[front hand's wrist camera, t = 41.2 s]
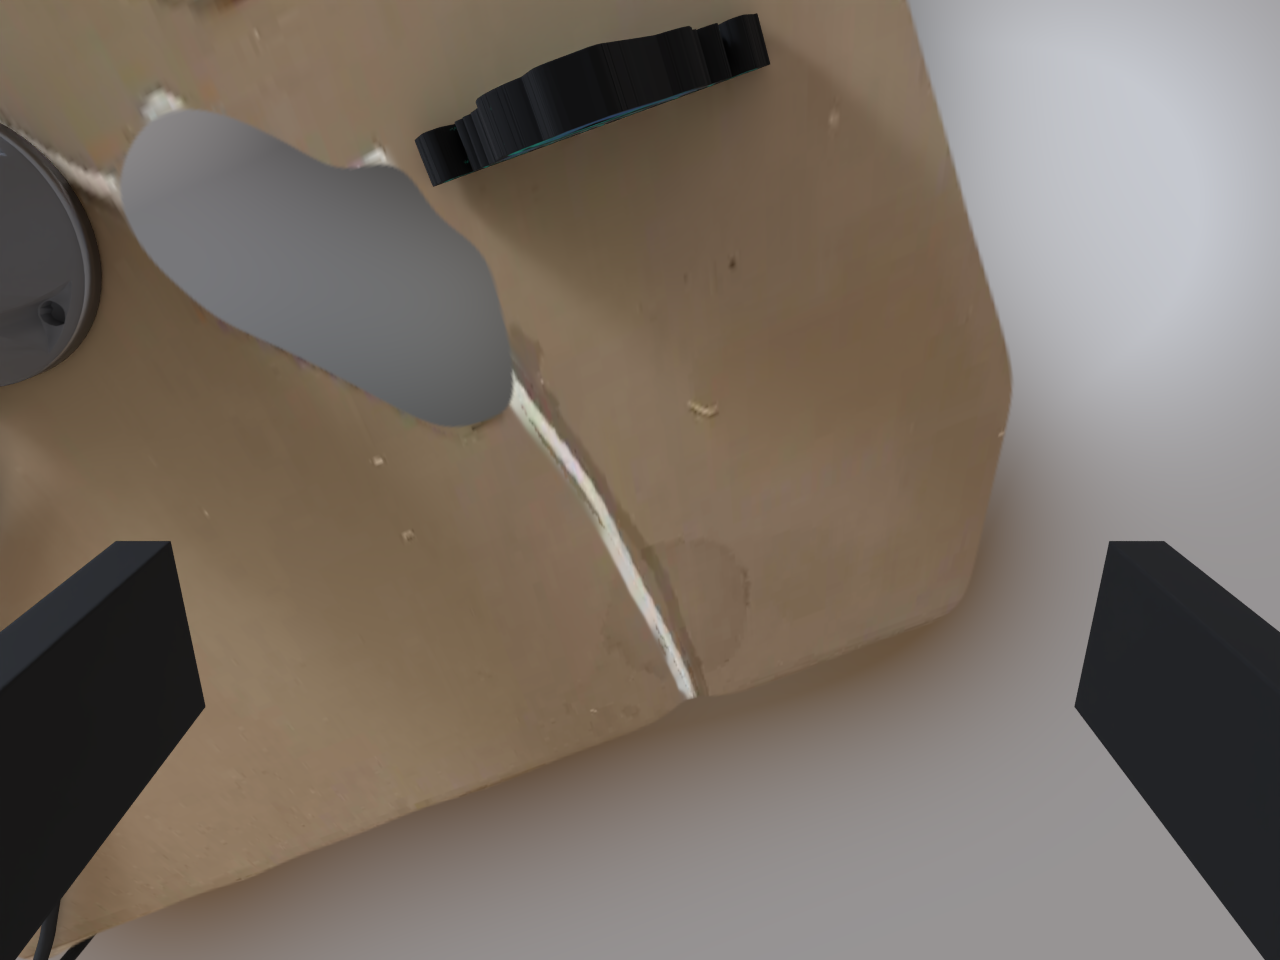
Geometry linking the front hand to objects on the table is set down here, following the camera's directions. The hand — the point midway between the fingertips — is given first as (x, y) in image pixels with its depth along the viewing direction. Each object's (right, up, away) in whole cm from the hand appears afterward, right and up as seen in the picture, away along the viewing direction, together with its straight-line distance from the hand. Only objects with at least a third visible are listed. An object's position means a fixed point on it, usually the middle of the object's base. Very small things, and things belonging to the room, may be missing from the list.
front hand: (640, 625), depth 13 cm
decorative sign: (-3, +22, +35) cm, 42 cm away
